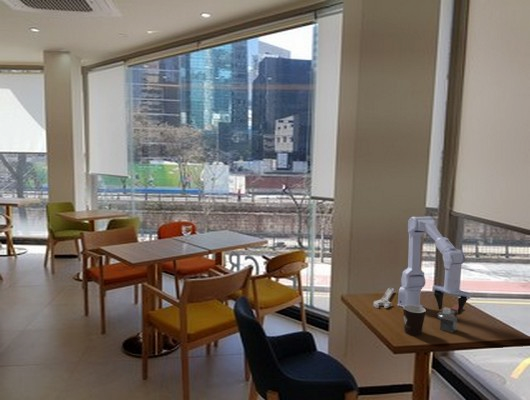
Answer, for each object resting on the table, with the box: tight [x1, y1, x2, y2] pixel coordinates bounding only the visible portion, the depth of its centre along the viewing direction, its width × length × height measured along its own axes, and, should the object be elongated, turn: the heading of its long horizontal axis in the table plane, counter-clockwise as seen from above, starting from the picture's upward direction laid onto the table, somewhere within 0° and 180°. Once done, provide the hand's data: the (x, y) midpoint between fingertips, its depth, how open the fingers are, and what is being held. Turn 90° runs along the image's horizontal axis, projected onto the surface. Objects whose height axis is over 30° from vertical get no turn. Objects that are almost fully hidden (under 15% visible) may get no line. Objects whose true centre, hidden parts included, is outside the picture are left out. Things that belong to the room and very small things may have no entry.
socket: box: [439, 315, 458, 334], centre depth 172 cm, size 5×5×5 cm
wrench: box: [372, 287, 395, 309], centre depth 207 cm, size 8×2×30 cm
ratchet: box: [436, 303, 459, 321], centre depth 189 cm, size 7×22×5 cm, turn 138°
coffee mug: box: [402, 305, 427, 337], centre depth 169 cm, size 12×9×10 cm
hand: (449, 311), depth 171 cm, fingers open, 7 cm apart
